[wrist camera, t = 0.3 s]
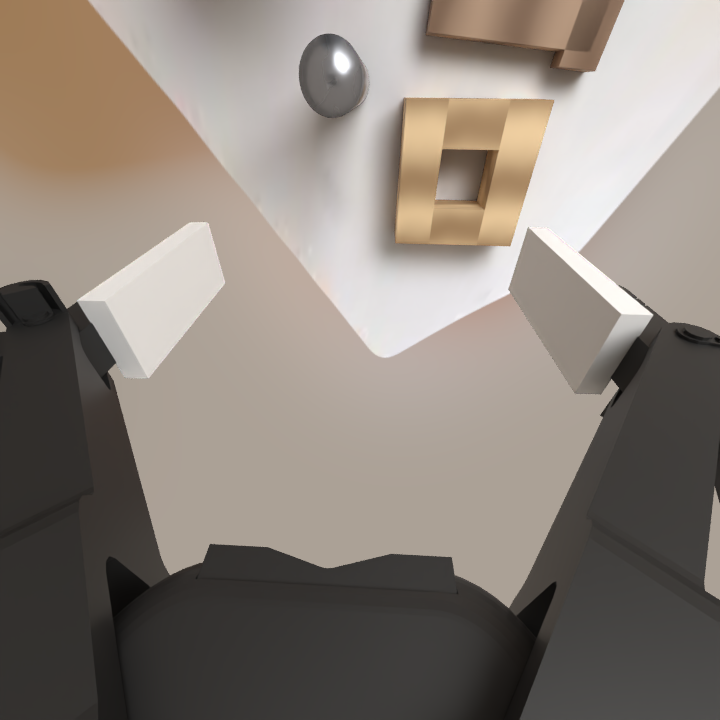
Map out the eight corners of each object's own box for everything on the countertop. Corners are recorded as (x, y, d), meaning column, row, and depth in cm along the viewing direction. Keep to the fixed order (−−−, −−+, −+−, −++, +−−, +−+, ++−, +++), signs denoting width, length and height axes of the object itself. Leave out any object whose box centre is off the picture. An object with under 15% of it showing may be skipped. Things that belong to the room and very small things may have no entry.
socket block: (404, 97, 30) (406, 98, 27) (538, 99, 29) (554, 100, 27) (394, 232, 37) (395, 243, 35) (500, 234, 37) (510, 246, 34)
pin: (328, 55, 28) (295, 33, 17) (370, 55, 28) (363, 33, 17) (330, 107, 31) (302, 117, 20) (368, 108, 30) (362, 118, 20)
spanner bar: (422, 51, 28) (425, 49, 26) (437, -39, 25) (440, -48, 23) (583, 72, 28) (595, 71, 27) (617, -15, 25) (633, -22, 24)
